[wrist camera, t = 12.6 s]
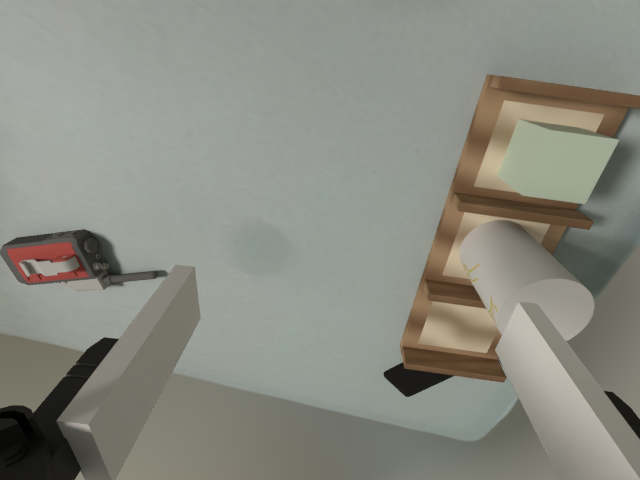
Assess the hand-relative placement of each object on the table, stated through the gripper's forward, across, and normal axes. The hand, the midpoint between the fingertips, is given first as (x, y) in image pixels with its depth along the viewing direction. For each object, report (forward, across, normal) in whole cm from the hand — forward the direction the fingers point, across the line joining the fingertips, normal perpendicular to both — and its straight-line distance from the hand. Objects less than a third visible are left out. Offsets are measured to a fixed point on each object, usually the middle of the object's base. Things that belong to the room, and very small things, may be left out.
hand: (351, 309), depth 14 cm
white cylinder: (+26, +19, -10) cm, 34 cm away
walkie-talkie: (+28, -34, -19) cm, 48 cm away
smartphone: (+27, +18, -32) cm, 46 cm away
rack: (+27, +19, -10) cm, 35 cm away
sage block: (+26, +20, +2) cm, 33 cm away
